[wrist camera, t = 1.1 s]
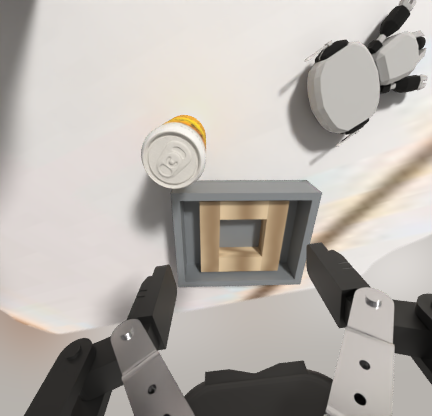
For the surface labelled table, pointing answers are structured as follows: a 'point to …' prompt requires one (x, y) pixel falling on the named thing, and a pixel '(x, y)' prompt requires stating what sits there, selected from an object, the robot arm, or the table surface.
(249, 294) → the table surface
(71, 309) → the table surface
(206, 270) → the plate
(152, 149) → the beer can
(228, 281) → the open-top box
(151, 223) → the table surface
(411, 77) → the robot toy
